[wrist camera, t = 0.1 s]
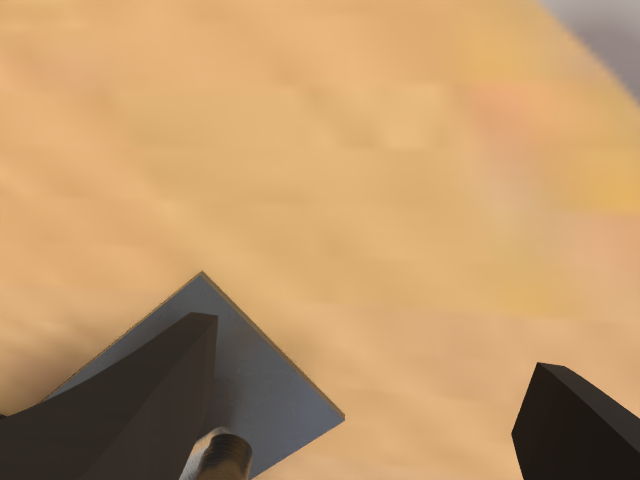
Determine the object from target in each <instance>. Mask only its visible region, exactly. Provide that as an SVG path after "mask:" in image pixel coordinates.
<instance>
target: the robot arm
mask: <svg viewBox="0 0 640 480" xmlns="http://www.w3.org/2000/svg"><path fill="white" fill-rule="evenodd" d="M217 329H218V315H211V314H204V313H197V312H190V313H189V314H187V315H186V316H184V317H183V318H181V319H180V320H178V321H177V322H176V323H174V324H173V325H171V326H170V327H169V328H167V329H166V330H164V331H163V332H161V333H160V334H159V335H157V336H156V337H154V338H153V339H151V340H150V341H149V342H147V343H146V344H144V345H143V346H141V347H140V348H138V349H137V350H135V351H134V352H132V353H131V354H129V355H128V356H126V357H124V358H123V359H121V360H119V361H118V362H116V363H114V364H113V365H111V366H109V367H108V368H106V369H104V370H103V371H101V372H99V373H98V374H96V375H94V376H93V377H91V378H89V379H87V380H85V381H84V382H82V383H80V384H78V385H76V386H74V387H72V388H70V389H68V390H66V391H64V392H62V393H60V394H58V395H56V396H54V397H52V398H50V399H48V400H46V401H44V402H42V403H39V404H37V405H35V406H33V407H31V408H28V409H26V410H23V411H21V412H18V413H16V414H14V415H11V416H9V417H6V418H4V419H1V420H0V480H179V479H180V476H181V474H182V472H183V470H184V467H185V465H186V463H187V461H188V458H189V456H190V454H191V452H192V449H193V447H194V445H195V443H196V440H197V438H198V436H199V433H200V431H201V428H202V424H203V421H204V418H205V415H206V412H207V408H208V405H209V402H210V398H211V395H212V392H213V382H214V368H215V355H216V342H217ZM511 435H512V439H513V443H514V447H515V451H516V455H517V459H518V462H519V465H520V469H521V472H522V476H523V479H524V480H640V419H639V418H638V417H637V416H635V415H634V414H632V413H631V412H630V411H628V410H627V409H626V408H624V407H623V406H622V405H620V404H619V403H617V402H616V401H615V400H613V399H612V398H611V397H609V396H608V395H606V394H605V393H604V392H602V391H601V390H600V389H598V388H597V387H595V386H594V385H593V384H591V383H590V382H588V381H587V380H585V379H584V378H582V377H581V376H580V375H578V374H576V373H575V372H573V371H572V370H570V369H568V368H567V367H565V366H560V365H553V364H546V363H539V362H537V364H536V367H535V370H534V373H533V375H532V378H531V381H530V384H529V386H528V389H527V392H526V395H525V397H524V400H523V403H522V406H521V408H520V411H519V414H518V417H517V419H516V422H515V425H514V428H513V430H512V433H511Z"/></svg>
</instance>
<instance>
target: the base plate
mask: <svg viewBox="0 0 640 480" xmlns="http://www.w3.org/2000/svg"><path fill="white" fill-rule="evenodd" d="M190 312H197V313H204V314H211V315H218V329H217V342H216V355H215V368H214V382H213V392H212V395H211V398H210V402H209V405H208V408H207V412H206V415H205V418H204V421H203V424H202V428H201V431H200V433H199V436H198V438H197V440H196V441H198V440H199V439H201V438H202V437H204V436H205V435H206V434H208V433H209V432H211V431H212V430H214V429H215V428H217V427H225V428H228V429H230V430H231V431H232V432H234V433H235V434H236V435H237V436H239V437H241V438H243V439H244V440H246V441H247V442H248V443H249V445H250V446H251V448H252V451H253V458H252V463H251V467H250V472H249V476H248V480H251V479H252V478H254V477H256V476H257V475H259V474H260V473H262V472H264V471H265V470H267V469H268V468H270V467H272V466H273V465H275V464H276V463H278V462H280V461H281V460H283V459H284V458H286V457H287V456H289V455H291V454H292V453H294V452H295V451H297V450H299V449H300V448H302V447H303V446H305V445H307V444H308V443H310V442H311V441H313V440H315V439H316V438H318V437H319V436H321V435H323V434H324V433H326V432H327V431H329V430H331V429H332V428H334V427H335V426H337V425H339V424H340V423H342V422H343V421H345V415H344V414H343V413H342V412H341V411H340V410H339V409H338V408H337V407H336V405H335V404H334V403H333V402H332V401H331V400H330V399H329V398H328V397H327V396H326V395H325V394H324V393H323V392H322V391H321V390H320V389H319V388H318V387H317V386H316V385H315V384H314V383H313V382H312V381H311V380H310V379H309V378H308V377H307V376H306V375H305V374H304V373H303V372H302V371H301V370H300V369H299V368H298V367H297V366H296V365H295V364H294V363H293V362H292V361H291V360H290V359H289V358H288V357H287V356H286V355H285V354H284V353H283V352H282V351H281V350H280V349H279V348H278V347H277V346H276V345H275V344H274V343H273V342H272V341H271V340H270V339H269V338H268V337H267V336H266V335H265V334H264V333H263V332H262V331H261V330H260V329H259V328H258V327H257V326H256V325H255V324H254V323H253V322H252V321H251V319H250V318H249V317H248V316H247V315H246V314H245V313H244V312H243V311H242V310H241V309H240V308H239V307H238V306H237V305H236V304H235V303H234V302H233V301H232V300H231V299H230V298H229V297H228V296H227V295H226V294H225V293H224V292H223V291H222V290H221V289H220V288H219V287H218V286H217V285H216V284H215V283H214V282H213V281H212V280H211V279H210V278H209V277H208V276H207V275H206V274H205V273H204V272H203V271H201V272H200V273H199V274H198V275H197V276H195V277H194V278H193V279H192V280H190V281H189V282H188V283H187V284H185V285H184V286H183V287H182V288H181V289H179V290H178V291H177V292H176V293H174V294H173V295H172V296H171V297H169V298H168V299H167V300H166V301H165V302H163V303H162V304H161V305H160V306H158V307H157V308H156V309H155V310H153V311H152V312H151V313H150V314H148V315H147V316H146V317H145V318H144V319H142V320H141V321H140V322H139V323H137V324H136V325H135V326H134V327H132V328H131V329H130V330H129V331H128V332H126V333H125V334H124V335H123V336H121V337H120V338H119V339H118V340H116V341H115V342H114V343H113V344H112V345H110V346H109V347H108V348H107V349H105V350H104V351H103V352H102V353H100V354H99V355H98V356H97V357H95V358H94V359H93V360H92V361H91V362H89V363H88V364H87V365H86V366H84V367H83V368H82V369H81V370H79V371H78V372H77V373H76V374H75V375H73V376H72V377H71V378H70V379H68V380H67V381H66V382H65V383H63V384H62V385H61V386H60V387H59V388H57V389H56V390H55V391H54V392H52V393H51V394H50V395H49V396H47V397H46V398H45V399H44V400H42V401H41V402H40V403H42V402H44V401H46V400H48V399H50V398H52V397H54V396H56V395H58V394H60V393H62V392H64V391H66V390H68V389H70V388H72V387H74V386H76V385H78V384H80V383H82V382H84V381H85V380H87V379H89V378H91V377H93V376H94V375H96V374H98V373H99V372H101V371H103V370H104V369H106V368H108V367H109V366H111V365H113V364H114V363H116V362H118V361H119V360H121V359H123V358H124V357H126V356H128V355H129V354H131V353H132V352H134V351H135V350H137V349H138V348H140V347H141V346H143V345H144V344H146V343H147V342H149V341H150V340H151V339H153V338H154V337H156V336H157V335H159V334H160V333H161V332H163V331H164V330H166V329H167V328H169V327H170V326H171V325H173V324H174V323H176V322H177V321H178V320H180V319H181V318H183V317H184V316H186V315H187V314H189V313H190Z"/></svg>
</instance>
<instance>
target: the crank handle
mask: <svg viewBox="0 0 640 480" xmlns="http://www.w3.org/2000/svg"><path fill="white" fill-rule="evenodd" d="M252 458H253V451H252V448H251V446H250V445H249V443H248V442H247V441H246V440H244V439H243V438H241V437H239V436H237V435H236V434H235V433H234V432H232V431H231V430H230V429H228V428H225V427H217V428H215V429H214V430H212V431H211V432H209V433H208V434H206V435H205V436H204V437H202V438H201V439H199V440H198V441H196V443H195V445H194V447H193V449H192V452H191V454H190V456H189V458H188V461H187V463H186V465H185V467H184V470H183V472H182V474H181V476H180V479H179V480H248V476H249V472H250V467H251V463H252Z"/></svg>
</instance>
